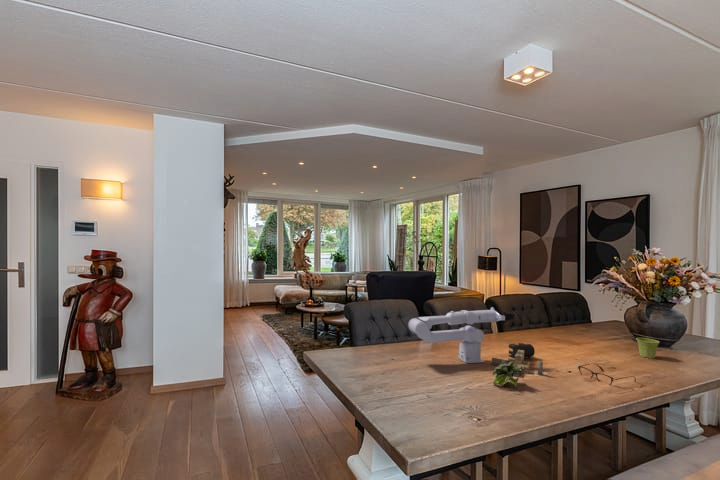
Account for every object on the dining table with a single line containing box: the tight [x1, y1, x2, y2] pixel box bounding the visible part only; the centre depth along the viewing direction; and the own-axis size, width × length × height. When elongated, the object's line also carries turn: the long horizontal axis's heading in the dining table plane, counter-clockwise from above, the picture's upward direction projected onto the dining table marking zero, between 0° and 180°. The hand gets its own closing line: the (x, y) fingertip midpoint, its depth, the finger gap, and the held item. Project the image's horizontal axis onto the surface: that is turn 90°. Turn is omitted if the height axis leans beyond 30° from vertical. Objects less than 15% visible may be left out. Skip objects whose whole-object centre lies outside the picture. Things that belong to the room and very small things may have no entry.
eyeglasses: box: [577, 363, 637, 386], centre depth 146 cm, size 16×16×4 cm
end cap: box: [508, 342, 535, 360], centre depth 170 cm, size 10×7×7 cm
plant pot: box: [635, 337, 660, 360], centre depth 178 cm, size 9×9×9 cm
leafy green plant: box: [491, 359, 524, 390], centre depth 134 cm, size 11×11×12 cm
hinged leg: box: [514, 349, 525, 364], centre depth 159 cm, size 14×3×6 cm, turn 149°
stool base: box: [490, 357, 548, 378], centre depth 154 cm, size 22×22×6 cm
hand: (508, 315), depth 169 cm, fingers open, 7 cm apart
